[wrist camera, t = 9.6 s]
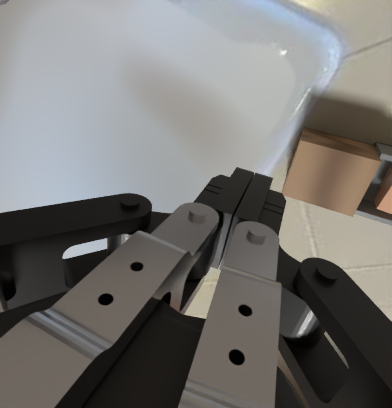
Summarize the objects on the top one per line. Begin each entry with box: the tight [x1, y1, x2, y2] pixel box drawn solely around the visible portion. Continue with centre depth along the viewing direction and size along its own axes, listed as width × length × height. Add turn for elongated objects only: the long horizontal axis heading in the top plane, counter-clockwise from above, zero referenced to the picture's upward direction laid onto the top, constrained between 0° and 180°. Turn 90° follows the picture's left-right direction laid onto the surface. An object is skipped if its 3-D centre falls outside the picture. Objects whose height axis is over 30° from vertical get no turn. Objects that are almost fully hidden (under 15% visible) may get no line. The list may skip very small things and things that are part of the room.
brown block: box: [282, 128, 381, 217], centre depth 39 cm, size 9×8×6 cm
